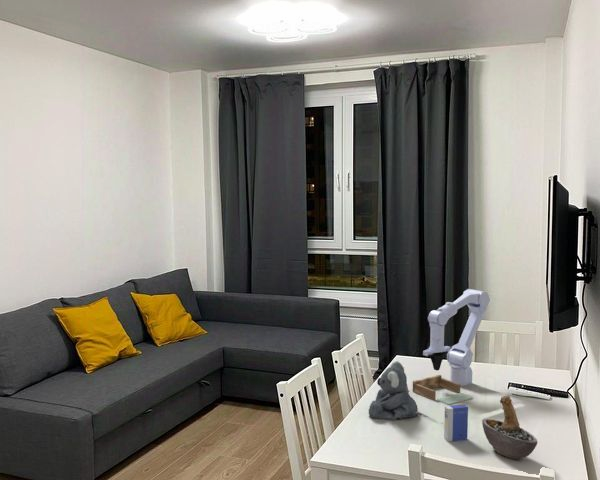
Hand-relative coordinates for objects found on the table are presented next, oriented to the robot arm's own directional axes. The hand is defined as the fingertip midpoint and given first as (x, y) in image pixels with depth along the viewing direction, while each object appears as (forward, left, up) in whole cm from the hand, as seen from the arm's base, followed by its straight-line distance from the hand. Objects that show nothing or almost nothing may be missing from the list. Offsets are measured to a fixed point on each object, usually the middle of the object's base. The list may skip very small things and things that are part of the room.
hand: (436, 369), depth 255 cm
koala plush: (+32, +8, -10) cm, 34 cm away
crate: (+3, +3, -10) cm, 11 cm away
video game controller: (+16, -8, -10) cm, 20 cm away
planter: (+25, +56, -10) cm, 62 cm away
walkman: (+30, +38, -10) cm, 49 cm away
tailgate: (+3, +10, -8) cm, 13 cm away
